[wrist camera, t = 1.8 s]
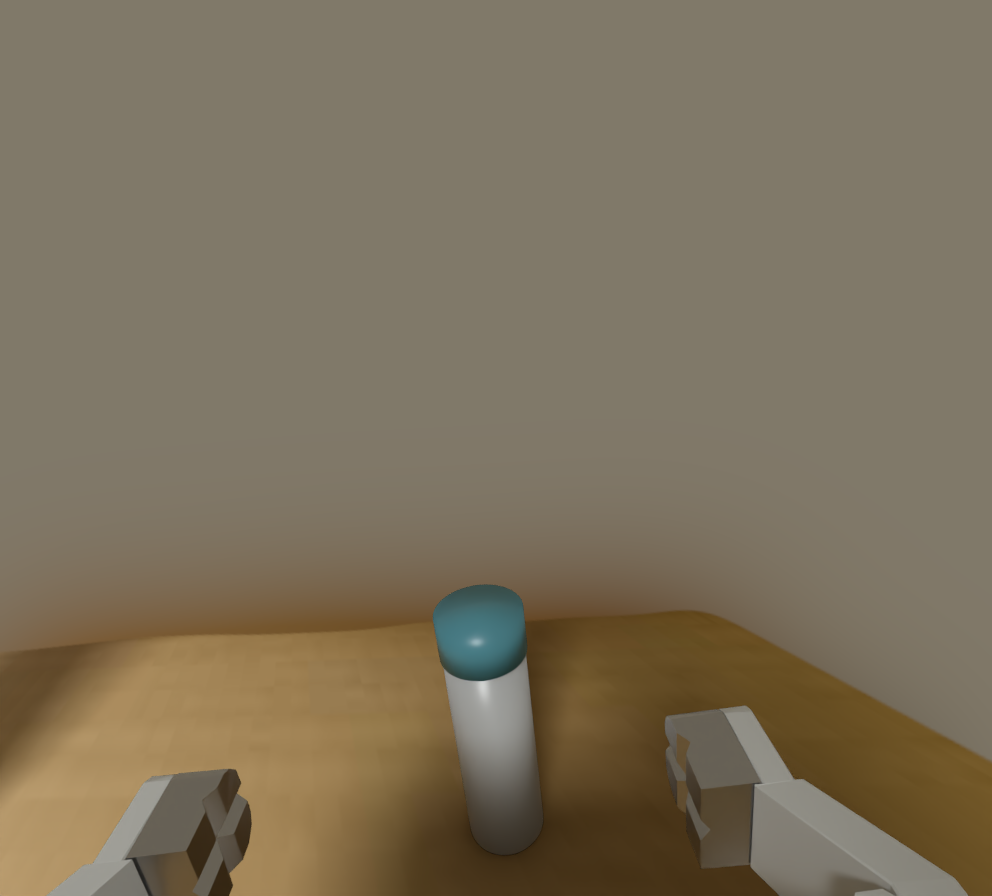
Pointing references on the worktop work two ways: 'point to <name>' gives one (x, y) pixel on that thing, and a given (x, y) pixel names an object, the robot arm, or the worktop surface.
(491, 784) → the water bottle
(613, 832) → the worktop surface
